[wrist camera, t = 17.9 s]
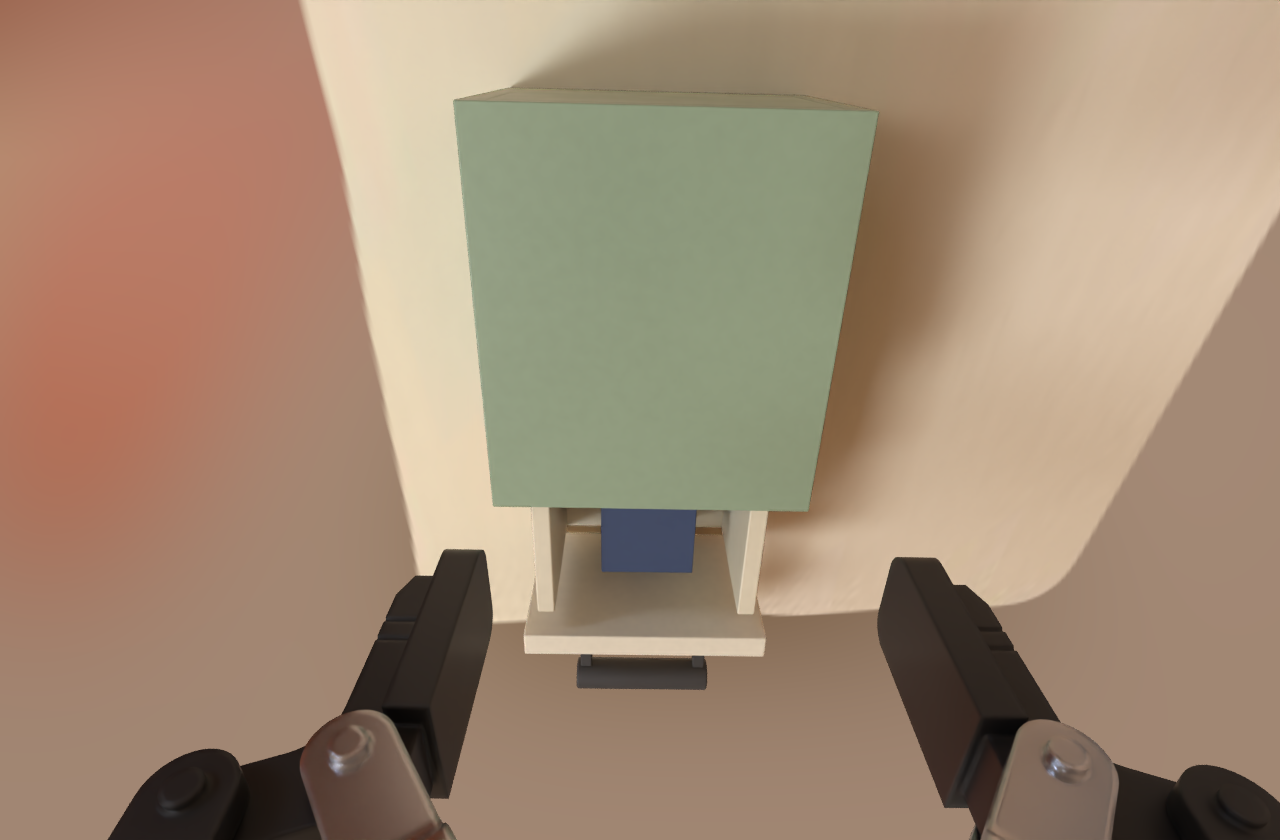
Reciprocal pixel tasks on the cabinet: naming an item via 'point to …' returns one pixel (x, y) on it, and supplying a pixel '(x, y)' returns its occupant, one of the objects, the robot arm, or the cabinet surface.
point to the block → (647, 540)
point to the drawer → (645, 602)
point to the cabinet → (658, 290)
